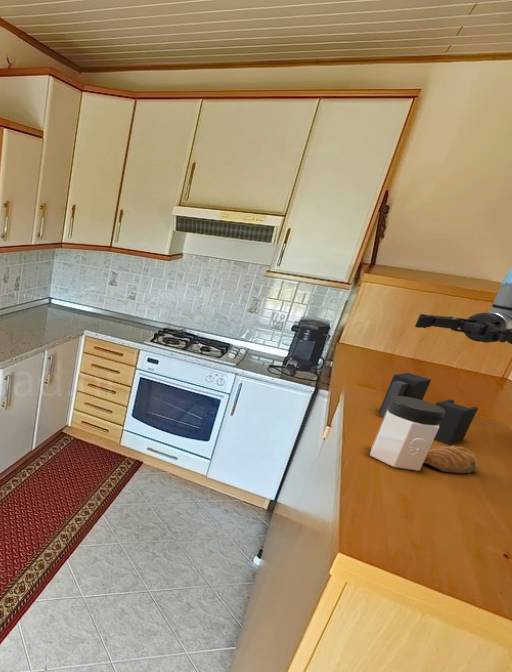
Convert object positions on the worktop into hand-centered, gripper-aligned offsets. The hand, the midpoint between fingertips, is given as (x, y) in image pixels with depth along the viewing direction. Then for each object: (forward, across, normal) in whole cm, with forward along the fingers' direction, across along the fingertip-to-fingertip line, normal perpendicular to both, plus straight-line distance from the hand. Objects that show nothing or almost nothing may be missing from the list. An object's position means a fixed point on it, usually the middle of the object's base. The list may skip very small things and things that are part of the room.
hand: (450, 329), depth 119 cm
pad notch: (+15, -12, -22) cm, 29 cm away
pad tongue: (+11, 0, -22) cm, 25 cm away
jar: (+42, -14, -22) cm, 49 cm away
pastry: (+33, -19, -22) cm, 44 cm away
